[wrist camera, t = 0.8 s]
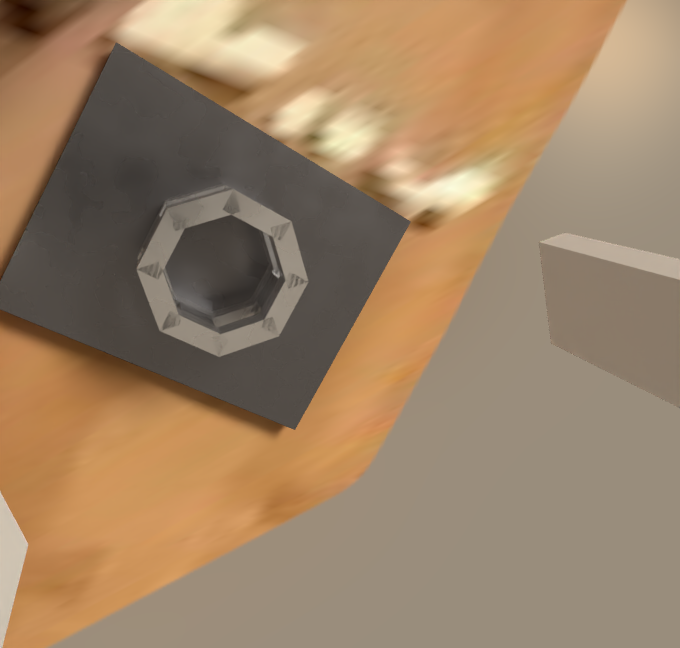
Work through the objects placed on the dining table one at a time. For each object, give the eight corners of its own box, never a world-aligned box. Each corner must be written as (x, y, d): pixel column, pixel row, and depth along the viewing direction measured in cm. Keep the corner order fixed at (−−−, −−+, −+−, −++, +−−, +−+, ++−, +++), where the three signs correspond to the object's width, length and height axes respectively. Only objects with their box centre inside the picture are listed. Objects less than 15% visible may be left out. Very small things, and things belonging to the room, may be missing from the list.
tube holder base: (-6, 298, 36) (-36, 329, 30) (117, 46, 34) (111, 25, 28) (290, 420, 43) (312, 464, 37) (402, 219, 42) (444, 231, 36)
